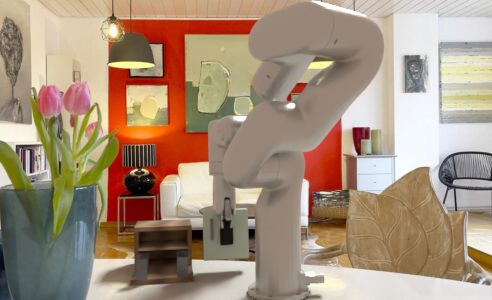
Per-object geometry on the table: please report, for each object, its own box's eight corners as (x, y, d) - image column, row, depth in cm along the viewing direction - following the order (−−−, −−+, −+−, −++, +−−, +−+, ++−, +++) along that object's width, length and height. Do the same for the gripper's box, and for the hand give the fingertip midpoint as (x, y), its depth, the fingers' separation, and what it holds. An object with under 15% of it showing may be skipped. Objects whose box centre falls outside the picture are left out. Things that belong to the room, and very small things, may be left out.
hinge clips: (187, 269, 101) (186, 250, 101) (187, 276, 94) (187, 257, 95) (138, 272, 99) (138, 253, 99) (136, 280, 93) (136, 259, 93)
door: (247, 255, 105) (246, 208, 106) (249, 258, 102) (248, 209, 102) (203, 258, 103) (202, 210, 104) (204, 261, 100) (203, 211, 101)
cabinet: (190, 259, 114) (190, 219, 114) (193, 281, 95) (193, 232, 95) (138, 262, 112) (137, 221, 112) (130, 284, 92) (129, 235, 92)
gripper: (206, 169, 111) (208, 238, 110) (211, 170, 95) (213, 251, 94) (234, 168, 112) (236, 237, 112) (244, 169, 96) (246, 249, 96)
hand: (225, 242), depth 103 cm, fingers closed on door, 2 cm apart
